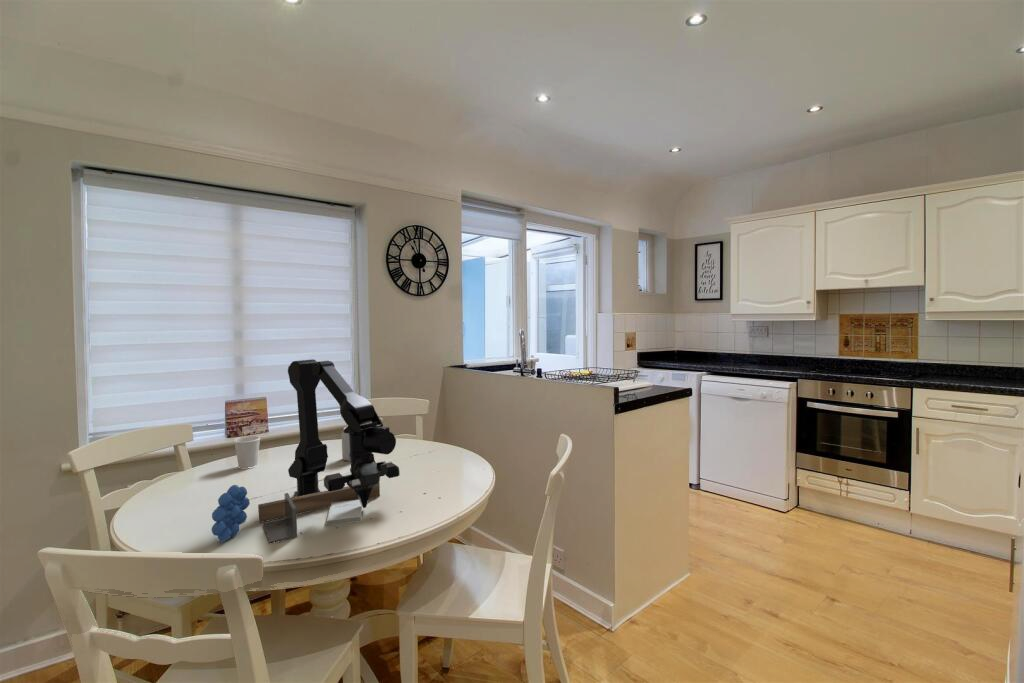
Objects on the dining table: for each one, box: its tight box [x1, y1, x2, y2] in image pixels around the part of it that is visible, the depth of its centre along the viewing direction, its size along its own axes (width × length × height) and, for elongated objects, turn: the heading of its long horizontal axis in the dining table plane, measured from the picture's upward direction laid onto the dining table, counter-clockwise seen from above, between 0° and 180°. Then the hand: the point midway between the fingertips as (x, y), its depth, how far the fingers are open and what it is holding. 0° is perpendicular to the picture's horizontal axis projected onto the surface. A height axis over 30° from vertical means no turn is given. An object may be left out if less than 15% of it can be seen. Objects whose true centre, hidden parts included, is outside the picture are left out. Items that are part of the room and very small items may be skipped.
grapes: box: [211, 484, 251, 543], centre depth 112 cm, size 12×7×12 cm, turn 175°
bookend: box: [262, 492, 298, 544], centre depth 114 cm, size 12×6×7 cm, turn 34°
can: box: [341, 425, 350, 462], centre depth 174 cm, size 8×8×12 cm
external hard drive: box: [326, 500, 363, 526], centre depth 124 cm, size 2×8×12 cm
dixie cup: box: [233, 435, 261, 468], centre depth 166 cm, size 8×8×10 cm
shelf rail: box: [257, 481, 381, 523], centre depth 129 cm, size 2×31×4 cm, turn 124°
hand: (364, 507), depth 126 cm, fingers closed
